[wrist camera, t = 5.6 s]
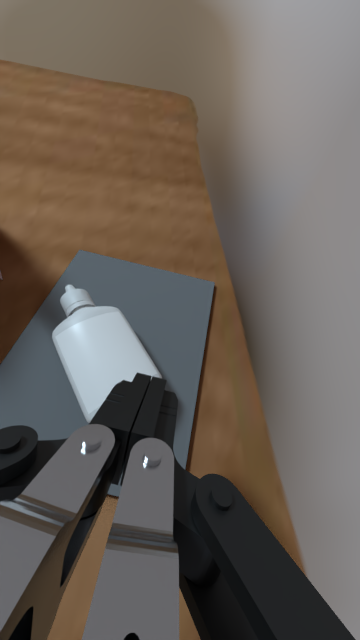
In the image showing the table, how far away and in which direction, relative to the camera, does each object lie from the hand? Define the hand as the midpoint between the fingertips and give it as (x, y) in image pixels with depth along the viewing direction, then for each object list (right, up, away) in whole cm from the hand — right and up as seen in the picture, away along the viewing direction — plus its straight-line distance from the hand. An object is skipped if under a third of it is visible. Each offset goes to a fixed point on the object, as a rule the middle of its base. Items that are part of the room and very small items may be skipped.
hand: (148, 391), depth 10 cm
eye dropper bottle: (-2, -3, +4) cm, 5 cm away
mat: (-4, +1, +9) cm, 10 cm away
